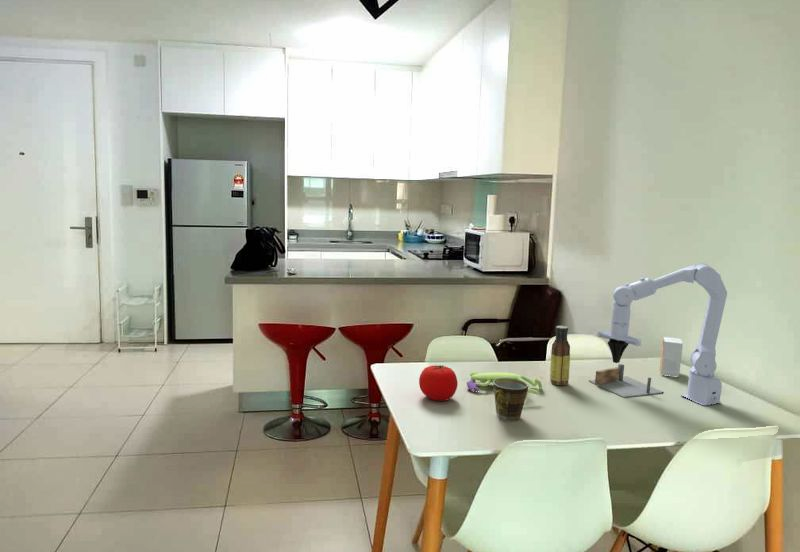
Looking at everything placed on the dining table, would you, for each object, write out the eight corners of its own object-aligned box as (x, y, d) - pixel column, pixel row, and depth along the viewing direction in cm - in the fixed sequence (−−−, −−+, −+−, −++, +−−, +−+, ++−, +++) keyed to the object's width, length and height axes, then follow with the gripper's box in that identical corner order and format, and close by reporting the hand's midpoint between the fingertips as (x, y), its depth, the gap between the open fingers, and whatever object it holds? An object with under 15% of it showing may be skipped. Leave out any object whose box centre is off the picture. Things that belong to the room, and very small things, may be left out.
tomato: (464, 401, 190) (466, 368, 189) (432, 407, 184) (434, 373, 183) (441, 389, 200) (443, 358, 199) (411, 395, 194) (412, 362, 193)
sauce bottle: (566, 381, 215) (571, 325, 212) (569, 387, 209) (575, 329, 206) (547, 379, 216) (552, 324, 213) (550, 385, 209) (554, 328, 206)
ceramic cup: (501, 407, 187) (504, 375, 185) (531, 416, 181) (534, 383, 179) (478, 419, 177) (481, 385, 175) (509, 429, 171) (512, 394, 169)
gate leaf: (615, 379, 217) (617, 367, 216) (618, 380, 216) (619, 368, 215) (594, 383, 211) (596, 371, 210) (597, 384, 210) (598, 372, 209)
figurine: (531, 408, 189) (533, 390, 188) (452, 389, 202) (453, 373, 201) (550, 392, 204) (552, 375, 204) (476, 375, 218) (477, 360, 217)
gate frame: (588, 381, 216) (590, 364, 215) (626, 377, 223) (628, 361, 222) (623, 397, 201) (625, 379, 200) (663, 393, 207) (665, 375, 206)
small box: (659, 370, 234) (663, 336, 232) (677, 372, 232) (681, 338, 230) (660, 376, 226) (664, 341, 224) (679, 378, 224) (683, 343, 222)
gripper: (646, 325, 204) (642, 365, 206) (606, 317, 214) (602, 355, 216) (636, 328, 199) (632, 369, 201) (595, 319, 209) (592, 358, 212)
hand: (616, 362), depth 208 cm, fingers closed
